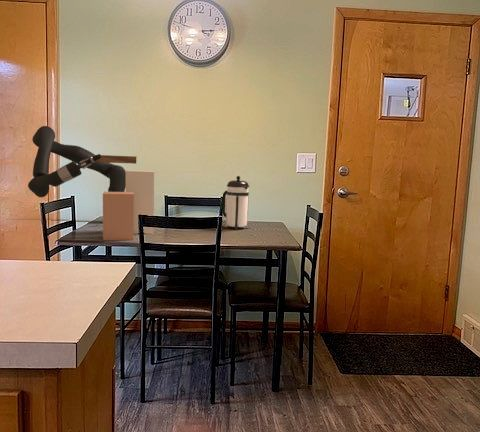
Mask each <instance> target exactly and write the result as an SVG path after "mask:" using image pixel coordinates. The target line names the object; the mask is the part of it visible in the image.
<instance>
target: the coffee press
mask: <svg viewBox="0 0 480 432" xmlns="http://www.w3.org/2000/svg"><path fill="white" fill-rule="evenodd" d="M235 179H236V180H234V179H233V180H230V181H228V183H227V184H226V188H227V190H225V191H223V194H222V198H221V213H222V215H223V217H224V218H225V223H224V225H225V226H223V228H225V229H227V227H232V228H234V231H238V228H246V229H250V226H249V223H248V218H249V216H248V214H249V195H250V192H249V188H250V185H249V183H248V182H247V181H246V180H241V176H240V175H237V176H236V178H235ZM247 226H248V227H247Z"/></svg>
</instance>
